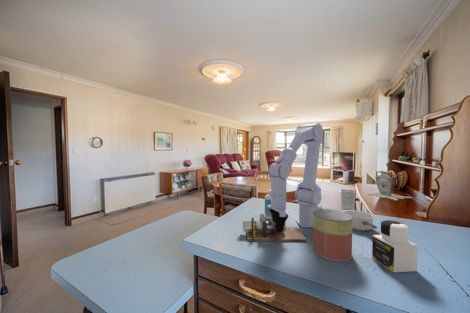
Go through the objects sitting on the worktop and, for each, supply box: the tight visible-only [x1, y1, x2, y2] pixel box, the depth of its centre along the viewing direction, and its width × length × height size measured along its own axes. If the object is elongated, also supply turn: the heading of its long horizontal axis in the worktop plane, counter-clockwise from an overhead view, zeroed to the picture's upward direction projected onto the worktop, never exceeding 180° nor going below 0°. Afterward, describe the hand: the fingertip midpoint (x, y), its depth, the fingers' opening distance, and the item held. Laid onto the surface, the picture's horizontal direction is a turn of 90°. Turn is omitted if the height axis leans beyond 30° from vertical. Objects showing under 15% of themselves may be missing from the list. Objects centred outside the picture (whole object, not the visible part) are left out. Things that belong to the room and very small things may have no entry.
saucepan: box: [342, 209, 378, 232], centre depth 77 cm, size 12×20×6 cm, turn 169°
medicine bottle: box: [371, 219, 419, 273], centre depth 54 cm, size 7×7×12 cm
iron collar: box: [259, 213, 268, 237], centre depth 73 cm, size 2×8×6 cm, turn 0°
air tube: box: [242, 220, 287, 233], centre depth 73 cm, size 16×5×5 cm, turn 90°
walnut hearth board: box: [246, 226, 308, 243], centre depth 73 cm, size 21×11×1 cm, turn 90°
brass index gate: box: [251, 216, 257, 237], centre depth 73 cm, size 2×9×5 cm, turn 0°
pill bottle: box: [264, 188, 273, 221], centre depth 92 cm, size 8×7×14 cm
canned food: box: [312, 208, 353, 262], centre depth 61 cm, size 11×11×12 cm
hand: (278, 229), depth 73 cm, fingers closed on air tube, 4 cm apart
